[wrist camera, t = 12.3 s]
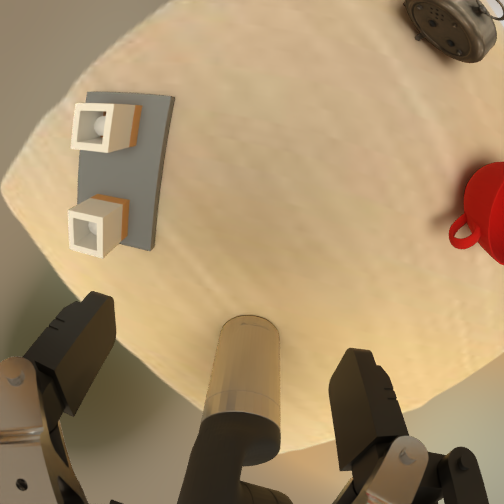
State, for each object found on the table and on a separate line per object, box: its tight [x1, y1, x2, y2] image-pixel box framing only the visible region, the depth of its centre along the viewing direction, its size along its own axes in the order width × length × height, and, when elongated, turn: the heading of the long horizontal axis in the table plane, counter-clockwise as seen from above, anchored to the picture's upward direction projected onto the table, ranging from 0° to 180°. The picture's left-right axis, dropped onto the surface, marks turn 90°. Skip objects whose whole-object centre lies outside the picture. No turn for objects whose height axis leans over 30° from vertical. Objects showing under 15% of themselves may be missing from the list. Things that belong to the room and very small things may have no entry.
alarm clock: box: [403, 0, 504, 63], centre depth 17 cm, size 11×5×16 cm, turn 51°
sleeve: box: [71, 103, 142, 153], centre depth 28 cm, size 5×5×7 cm
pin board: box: [68, 92, 175, 259], centre depth 31 cm, size 20×12×8 cm, turn 168°
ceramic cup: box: [449, 162, 504, 265], centre depth 29 cm, size 13×17×10 cm
